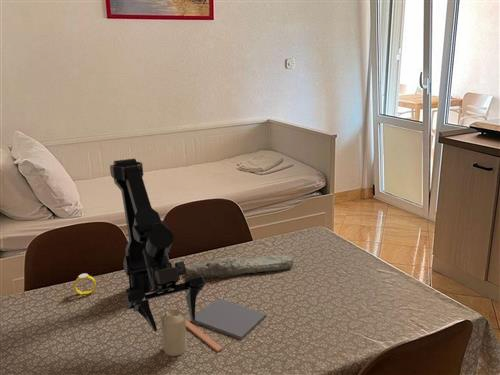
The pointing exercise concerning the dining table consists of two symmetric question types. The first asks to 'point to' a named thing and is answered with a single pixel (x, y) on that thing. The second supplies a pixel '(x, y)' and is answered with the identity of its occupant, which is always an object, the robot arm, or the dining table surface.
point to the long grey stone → (239, 266)
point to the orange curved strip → (203, 336)
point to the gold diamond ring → (82, 277)
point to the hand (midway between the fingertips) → (175, 326)
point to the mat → (229, 318)
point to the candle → (174, 333)
